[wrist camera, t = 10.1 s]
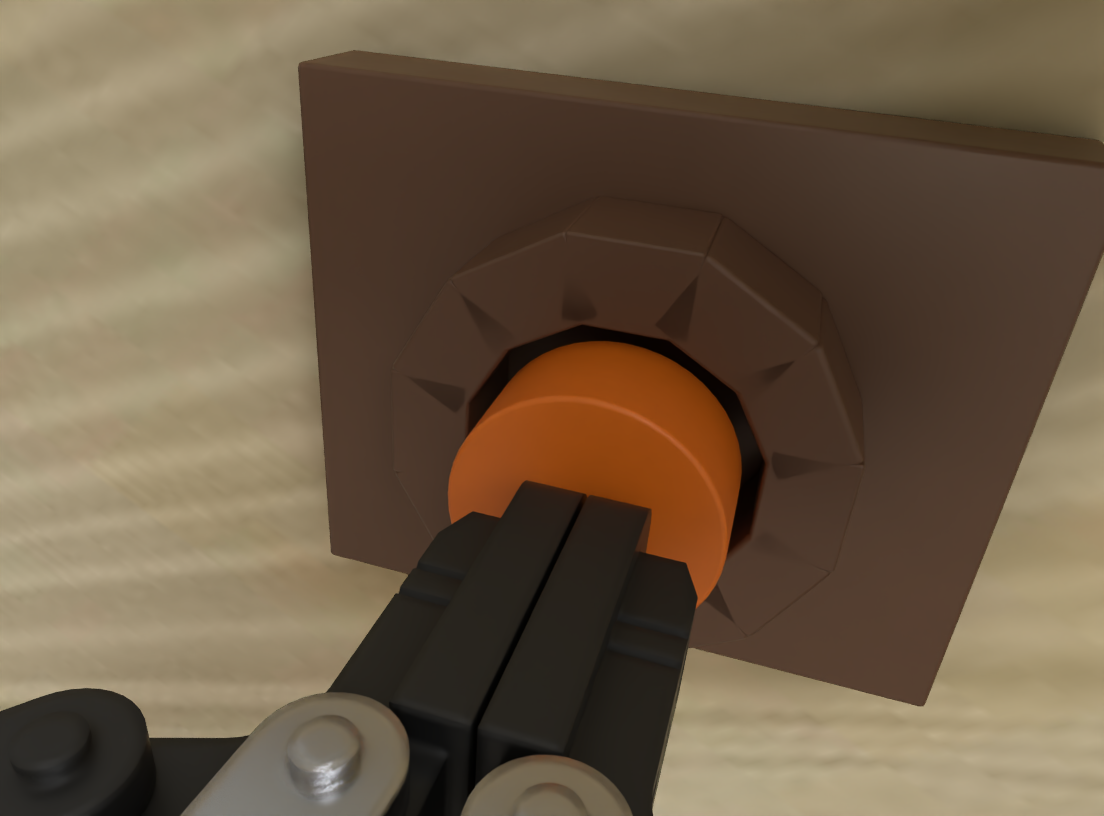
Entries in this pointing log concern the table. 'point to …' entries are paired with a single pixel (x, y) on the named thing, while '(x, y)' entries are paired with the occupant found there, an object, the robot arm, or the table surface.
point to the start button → (612, 447)
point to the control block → (704, 321)
